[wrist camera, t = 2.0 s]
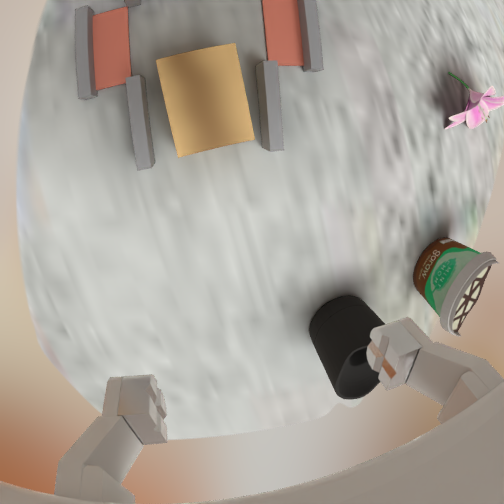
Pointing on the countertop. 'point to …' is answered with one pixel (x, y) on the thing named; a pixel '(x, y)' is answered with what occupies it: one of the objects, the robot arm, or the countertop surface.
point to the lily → (477, 107)
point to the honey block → (205, 99)
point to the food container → (451, 279)
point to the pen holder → (346, 345)
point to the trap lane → (119, 72)
